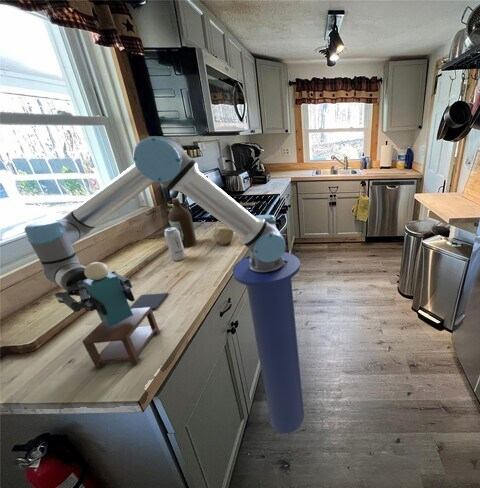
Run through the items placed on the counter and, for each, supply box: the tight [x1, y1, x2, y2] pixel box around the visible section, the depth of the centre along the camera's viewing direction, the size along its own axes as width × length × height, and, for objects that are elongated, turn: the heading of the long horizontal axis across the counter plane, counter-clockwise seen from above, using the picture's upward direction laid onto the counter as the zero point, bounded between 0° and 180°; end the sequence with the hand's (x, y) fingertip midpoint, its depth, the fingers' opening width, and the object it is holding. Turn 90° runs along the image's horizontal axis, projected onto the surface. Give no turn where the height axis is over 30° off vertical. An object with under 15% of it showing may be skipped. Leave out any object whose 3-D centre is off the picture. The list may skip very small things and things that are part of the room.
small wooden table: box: [82, 307, 160, 369], centre depth 70 cm, size 10×12×9 cm
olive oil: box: [167, 197, 197, 248], centre depth 135 cm, size 11×11×25 cm
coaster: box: [130, 292, 169, 311], centre depth 91 cm, size 9×9×1 cm
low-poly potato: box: [212, 224, 235, 246], centre depth 139 cm, size 15×11×12 cm
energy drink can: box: [163, 226, 186, 262], centre depth 121 cm, size 6×6×15 cm
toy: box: [83, 261, 133, 327], centre depth 64 cm, size 5×5×16 cm
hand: (118, 302), depth 62 cm, fingers closed on toy, 5 cm apart
